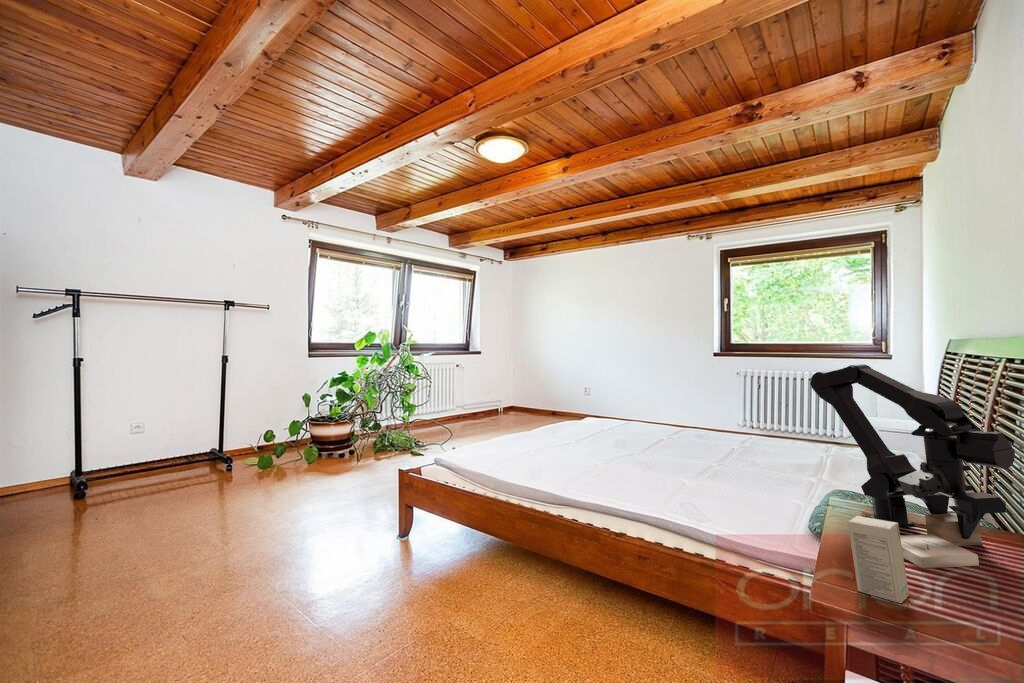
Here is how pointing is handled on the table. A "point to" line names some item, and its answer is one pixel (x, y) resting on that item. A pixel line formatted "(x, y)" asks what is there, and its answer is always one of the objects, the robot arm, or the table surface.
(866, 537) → the skincare box
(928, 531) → the block
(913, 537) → the birch board
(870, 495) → the robot arm
